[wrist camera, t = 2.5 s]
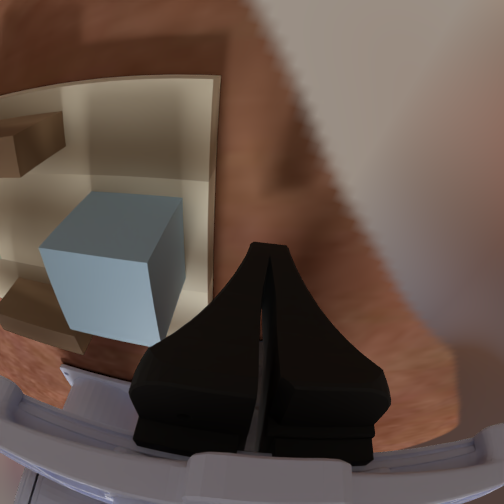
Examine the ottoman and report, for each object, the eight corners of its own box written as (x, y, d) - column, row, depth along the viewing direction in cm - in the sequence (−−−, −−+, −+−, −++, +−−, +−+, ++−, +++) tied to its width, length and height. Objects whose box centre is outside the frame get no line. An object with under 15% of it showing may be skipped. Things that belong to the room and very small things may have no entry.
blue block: (185, 277, 14) (162, 348, 11) (106, 267, 14) (70, 328, 11) (182, 197, 12) (146, 262, 9) (91, 191, 12) (38, 247, 9)
